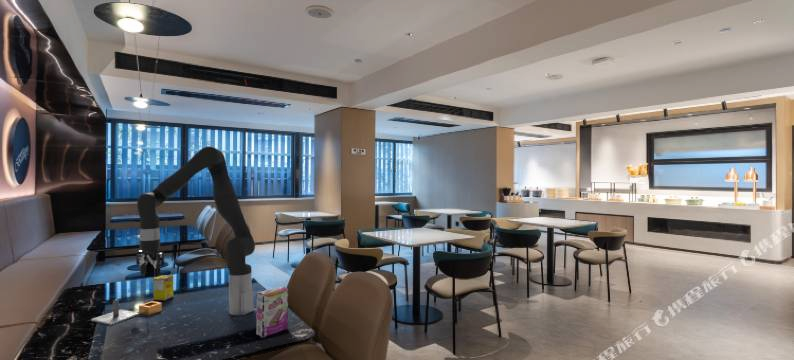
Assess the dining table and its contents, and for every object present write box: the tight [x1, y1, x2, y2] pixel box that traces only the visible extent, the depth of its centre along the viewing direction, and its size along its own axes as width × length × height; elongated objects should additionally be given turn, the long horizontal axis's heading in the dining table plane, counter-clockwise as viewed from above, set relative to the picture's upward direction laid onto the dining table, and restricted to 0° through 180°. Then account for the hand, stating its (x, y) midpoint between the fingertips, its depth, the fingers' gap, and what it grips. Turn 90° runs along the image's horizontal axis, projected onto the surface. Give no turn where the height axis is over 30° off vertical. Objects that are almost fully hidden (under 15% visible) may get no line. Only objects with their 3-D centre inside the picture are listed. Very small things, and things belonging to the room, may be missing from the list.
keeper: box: [90, 299, 141, 326], centre depth 162 cm, size 12×12×8 cm
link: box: [138, 300, 163, 316], centre depth 169 cm, size 6×6×4 cm
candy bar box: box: [255, 285, 289, 339], centre depth 149 cm, size 11×5×16 cm, turn 141°
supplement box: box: [152, 274, 174, 302], centre depth 186 cm, size 6×6×11 cm
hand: (150, 275), depth 169 cm, fingers open, 8 cm apart
